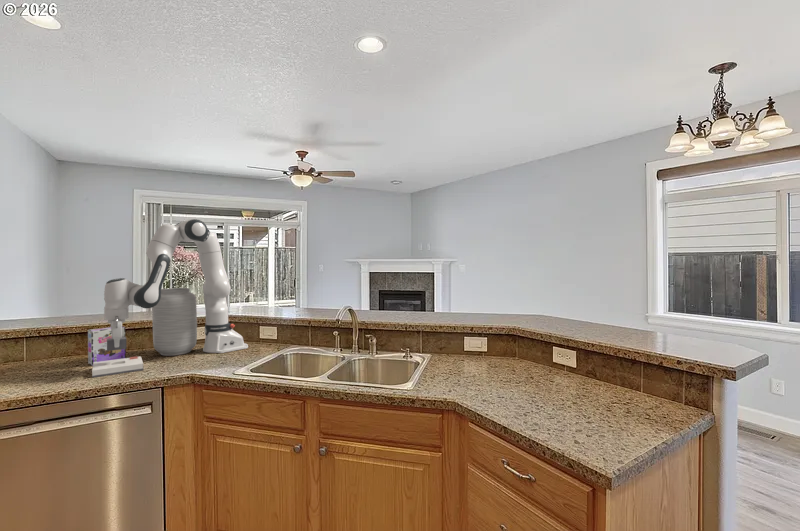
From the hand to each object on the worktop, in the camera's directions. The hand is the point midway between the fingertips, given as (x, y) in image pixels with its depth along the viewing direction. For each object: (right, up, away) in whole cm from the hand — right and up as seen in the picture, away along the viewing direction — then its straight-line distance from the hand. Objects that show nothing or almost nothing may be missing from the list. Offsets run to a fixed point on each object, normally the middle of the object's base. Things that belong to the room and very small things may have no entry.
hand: (116, 345), depth 178 cm
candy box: (-14, -11, +13) cm, 22 cm away
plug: (0, -3, 0) cm, 3 cm away
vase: (+9, -10, +31) cm, 34 cm away
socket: (0, -11, 0) cm, 11 cm away
